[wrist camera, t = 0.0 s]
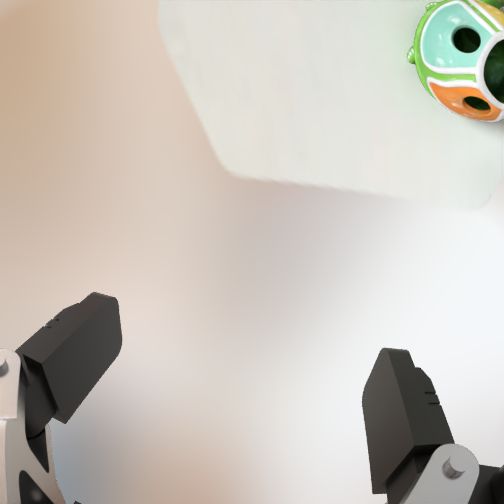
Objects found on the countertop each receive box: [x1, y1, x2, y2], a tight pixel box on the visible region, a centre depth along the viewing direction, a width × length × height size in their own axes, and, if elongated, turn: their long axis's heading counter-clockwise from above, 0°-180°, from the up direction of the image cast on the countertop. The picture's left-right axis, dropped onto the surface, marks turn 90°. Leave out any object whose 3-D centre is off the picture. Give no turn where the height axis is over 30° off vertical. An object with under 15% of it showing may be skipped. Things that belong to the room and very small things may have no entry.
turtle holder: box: [407, 0, 504, 122], centre depth 18 cm, size 12×18×12 cm
